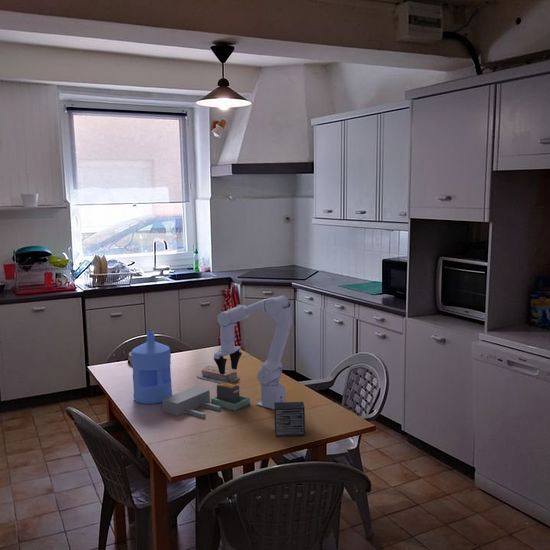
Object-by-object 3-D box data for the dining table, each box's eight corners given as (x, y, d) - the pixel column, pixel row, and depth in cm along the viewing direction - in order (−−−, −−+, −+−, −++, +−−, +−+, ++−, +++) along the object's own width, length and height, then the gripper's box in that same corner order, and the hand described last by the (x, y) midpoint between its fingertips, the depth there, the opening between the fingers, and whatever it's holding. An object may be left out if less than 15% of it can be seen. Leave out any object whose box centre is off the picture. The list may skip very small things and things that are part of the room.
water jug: (127, 397, 240) (123, 331, 236) (160, 388, 250) (158, 325, 246) (144, 407, 228) (141, 339, 224) (179, 398, 238) (177, 332, 234)
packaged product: (240, 369, 261) (225, 375, 253) (240, 379, 262) (226, 386, 254) (210, 363, 272) (196, 368, 264) (211, 372, 272) (196, 378, 264)
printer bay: (227, 406, 228) (227, 394, 227) (195, 421, 214) (195, 408, 213) (195, 397, 238) (195, 386, 237) (163, 411, 224) (162, 399, 223)
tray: (250, 404, 231) (249, 398, 231) (235, 411, 224) (235, 404, 223) (226, 397, 238) (226, 391, 238) (211, 404, 231) (211, 398, 231)
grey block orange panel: (240, 403, 231) (240, 385, 230) (233, 406, 227) (232, 388, 226) (224, 398, 236) (224, 381, 235) (217, 401, 232) (216, 384, 231)
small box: (303, 428, 207) (303, 400, 205) (305, 436, 200) (305, 407, 199) (274, 429, 206) (274, 401, 205) (275, 437, 200) (274, 408, 198)
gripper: (231, 334, 245) (232, 365, 247) (208, 342, 234) (209, 374, 236) (244, 337, 241) (245, 368, 243) (221, 344, 230) (222, 377, 232)
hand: (228, 371), depth 239 cm, fingers open, 7 cm apart
